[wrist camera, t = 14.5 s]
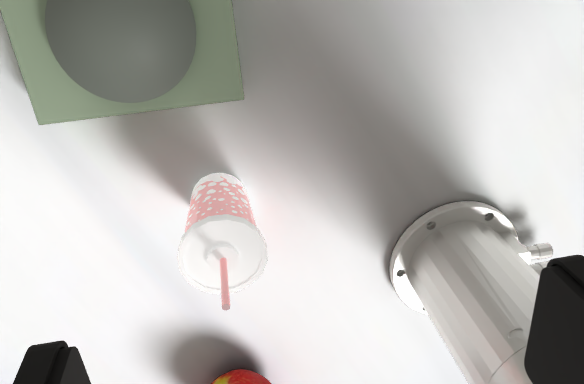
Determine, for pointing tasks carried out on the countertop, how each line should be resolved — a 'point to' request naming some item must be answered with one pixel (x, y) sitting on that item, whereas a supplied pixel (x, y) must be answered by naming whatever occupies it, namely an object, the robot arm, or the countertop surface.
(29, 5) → the green domed square base
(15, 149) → the countertop surface
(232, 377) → the apple
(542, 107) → the countertop surface
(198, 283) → the beverage cup
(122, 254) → the countertop surface
